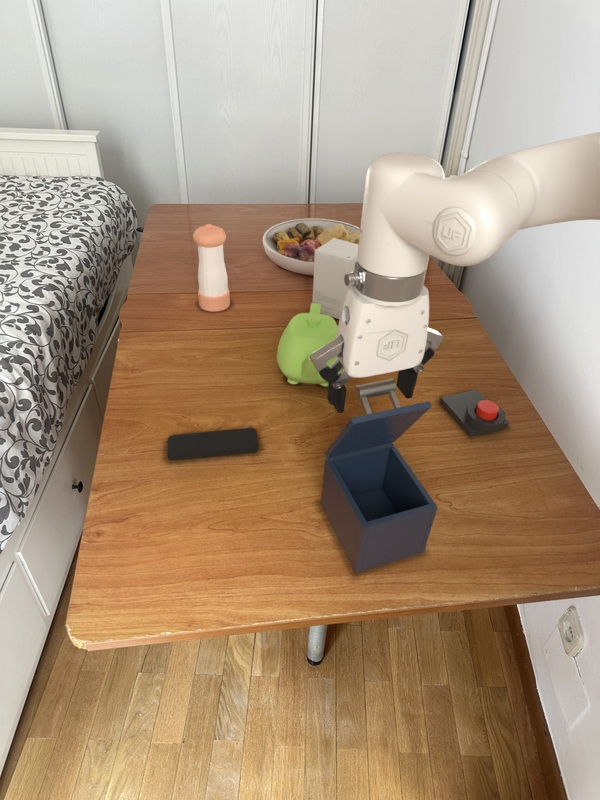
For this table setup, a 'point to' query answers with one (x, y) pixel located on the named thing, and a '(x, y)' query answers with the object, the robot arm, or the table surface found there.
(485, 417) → the button
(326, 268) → the white product box
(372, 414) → the blue drawer with handle
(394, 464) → the lidded box
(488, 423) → the switch block
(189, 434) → the remote control
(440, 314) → the table surface
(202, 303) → the pepper shaker
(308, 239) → the bowl
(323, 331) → the teapot
